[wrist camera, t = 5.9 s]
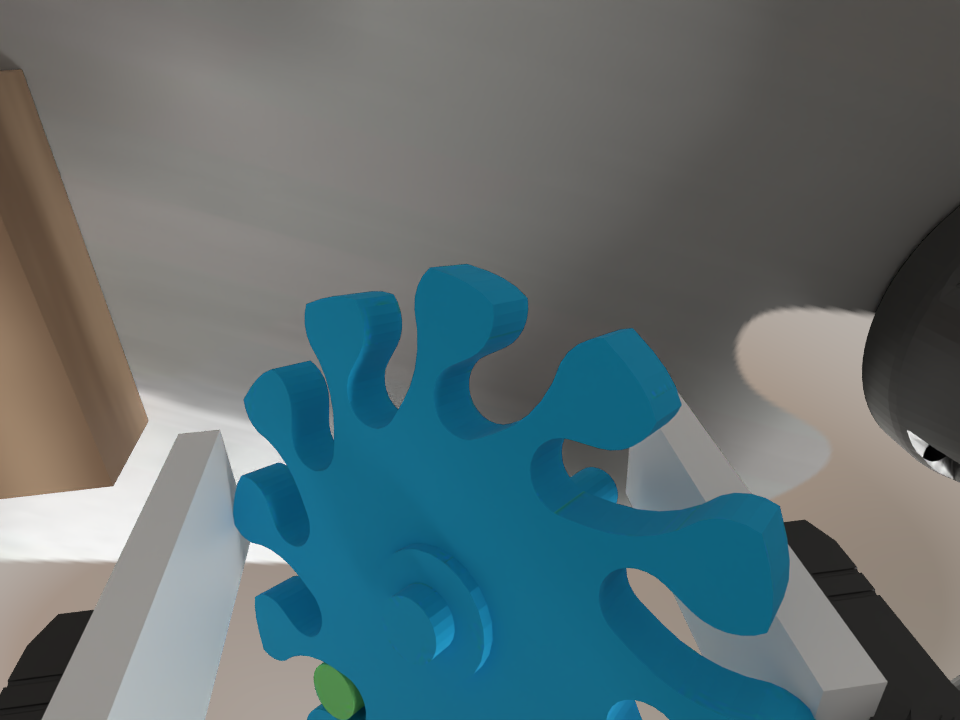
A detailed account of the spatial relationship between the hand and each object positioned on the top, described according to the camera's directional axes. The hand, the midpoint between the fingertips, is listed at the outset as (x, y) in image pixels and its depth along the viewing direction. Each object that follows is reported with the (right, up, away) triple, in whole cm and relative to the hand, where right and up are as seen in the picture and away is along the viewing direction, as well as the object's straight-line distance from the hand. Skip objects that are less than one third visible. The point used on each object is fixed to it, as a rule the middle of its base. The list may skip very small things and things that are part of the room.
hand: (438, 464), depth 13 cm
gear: (0, 0, +1) cm, 1 cm away
